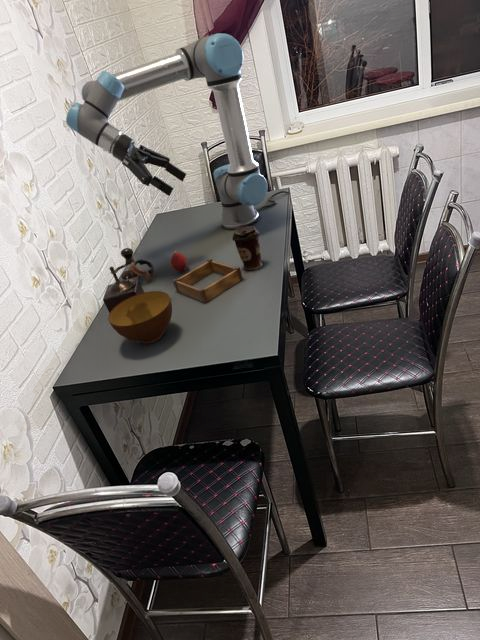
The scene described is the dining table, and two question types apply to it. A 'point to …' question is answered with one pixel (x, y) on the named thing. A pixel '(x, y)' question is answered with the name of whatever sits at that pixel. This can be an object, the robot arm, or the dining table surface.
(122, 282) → the manual coffee grinder
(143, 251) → the dining table surface
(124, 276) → the pottery mug
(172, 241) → the dining table surface
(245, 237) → the coffee cup
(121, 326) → the bowl
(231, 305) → the dining table surface
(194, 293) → the wooden frame
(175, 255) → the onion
